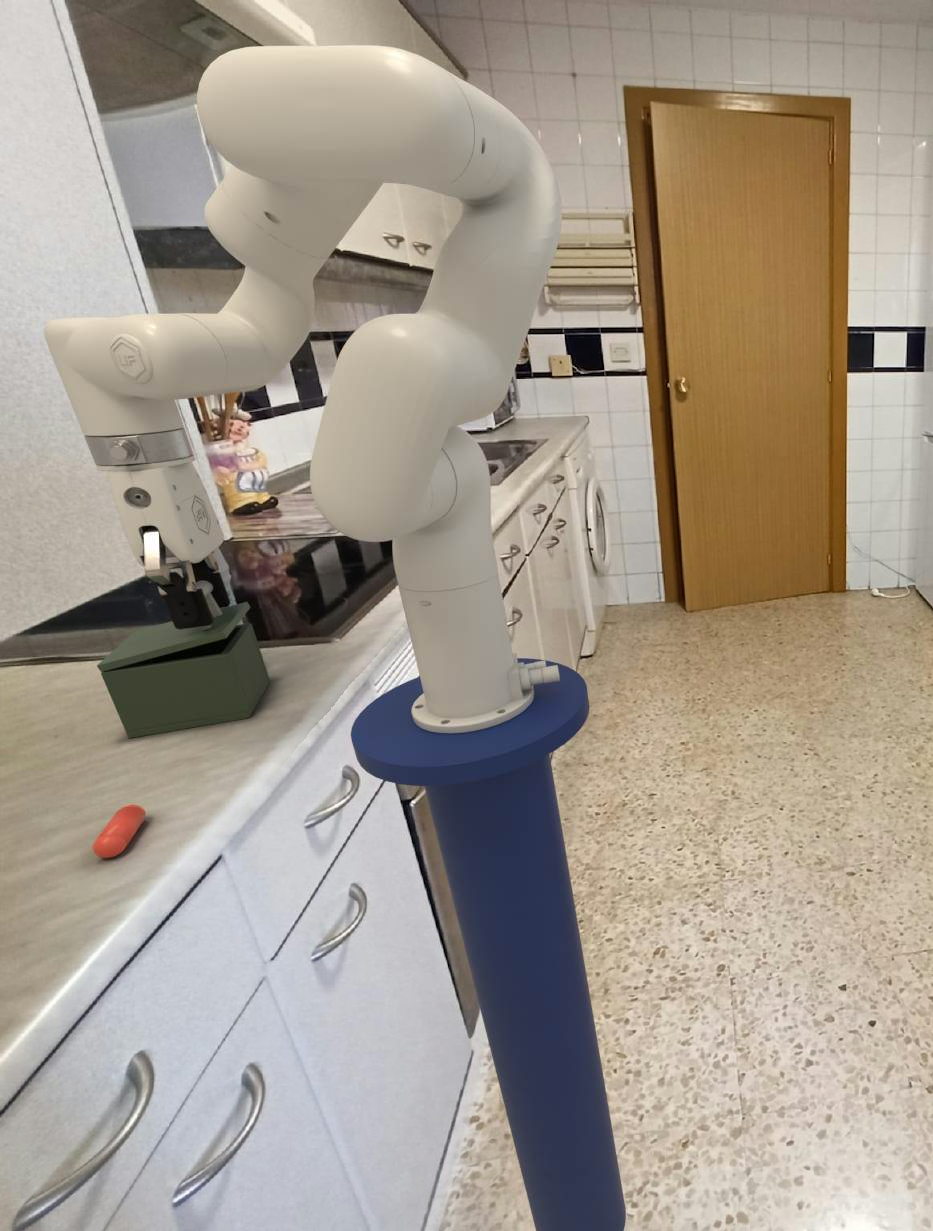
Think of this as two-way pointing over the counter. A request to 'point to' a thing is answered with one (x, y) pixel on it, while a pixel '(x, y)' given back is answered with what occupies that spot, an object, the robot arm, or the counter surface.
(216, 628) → the bin lid
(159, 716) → the bin
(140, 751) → the counter surface
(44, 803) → the counter surface
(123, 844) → the red jelly bean
